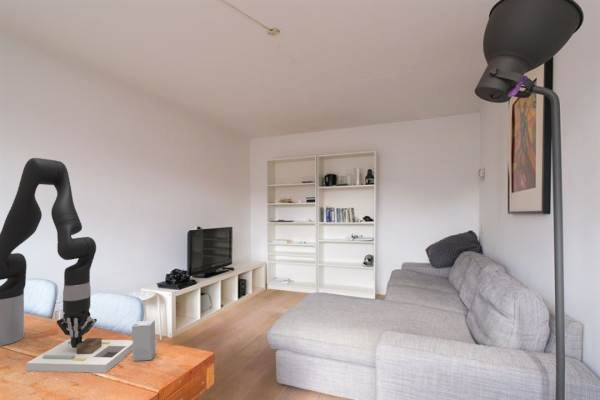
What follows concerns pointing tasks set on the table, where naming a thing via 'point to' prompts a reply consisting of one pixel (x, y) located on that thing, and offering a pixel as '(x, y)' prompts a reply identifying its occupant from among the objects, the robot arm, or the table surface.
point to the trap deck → (81, 358)
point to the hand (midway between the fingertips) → (76, 346)
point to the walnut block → (89, 345)
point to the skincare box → (143, 340)
